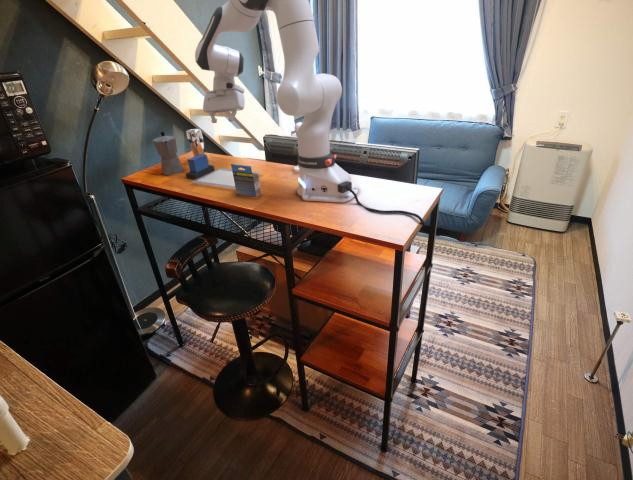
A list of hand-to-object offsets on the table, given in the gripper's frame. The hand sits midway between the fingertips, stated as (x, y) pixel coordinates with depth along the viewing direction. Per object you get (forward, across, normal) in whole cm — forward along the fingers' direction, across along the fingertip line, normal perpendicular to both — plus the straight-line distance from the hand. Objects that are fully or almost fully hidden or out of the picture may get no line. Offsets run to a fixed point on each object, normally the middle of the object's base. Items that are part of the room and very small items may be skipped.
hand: (222, 122), depth 147 cm
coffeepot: (+22, -25, -3) cm, 33 cm away
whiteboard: (+25, +6, -3) cm, 26 cm away
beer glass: (+15, -22, +10) cm, 29 cm away
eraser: (+23, -7, -4) cm, 24 cm away
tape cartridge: (+32, +25, -12) cm, 42 cm away
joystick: (+19, +34, +16) cm, 42 cm away
